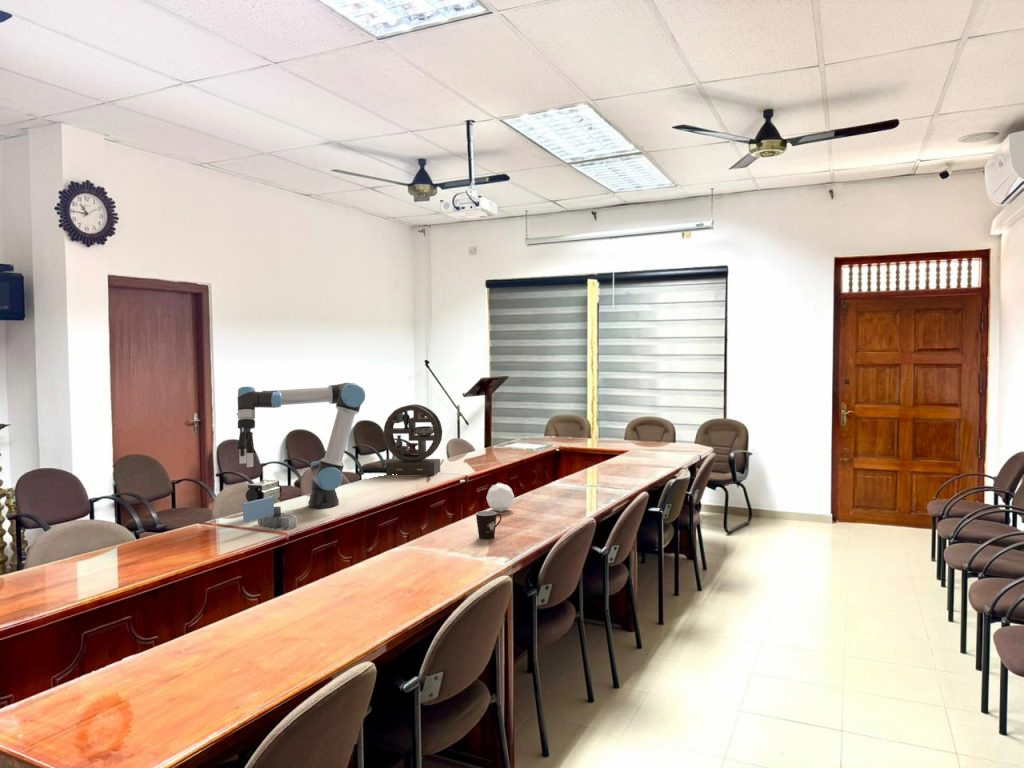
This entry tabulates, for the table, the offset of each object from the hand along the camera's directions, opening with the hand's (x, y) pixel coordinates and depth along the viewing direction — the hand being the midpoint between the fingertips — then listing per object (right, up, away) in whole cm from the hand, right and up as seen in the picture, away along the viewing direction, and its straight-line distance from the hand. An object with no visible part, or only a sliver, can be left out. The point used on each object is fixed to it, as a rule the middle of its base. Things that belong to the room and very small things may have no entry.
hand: (246, 465), depth 310 cm
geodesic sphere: (+116, -24, +18) cm, 120 cm away
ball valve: (+4, -26, +15) cm, 30 cm away
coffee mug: (+113, -26, -31) cm, 120 cm away
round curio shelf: (+58, -21, +130) cm, 144 cm away
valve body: (+16, -27, -6) cm, 32 cm away
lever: (+12, -22, -13) cm, 28 cm away
